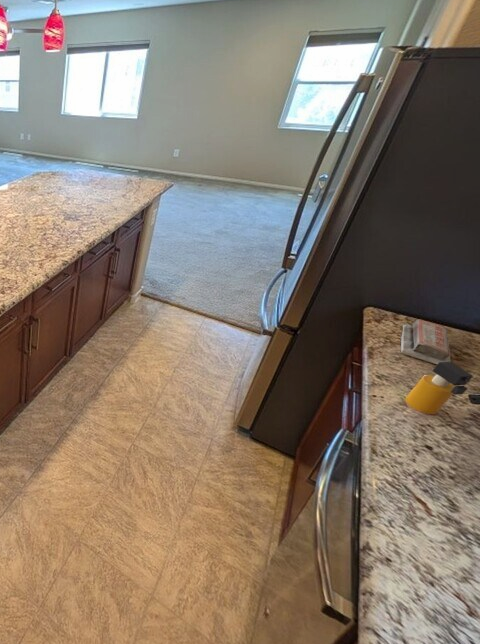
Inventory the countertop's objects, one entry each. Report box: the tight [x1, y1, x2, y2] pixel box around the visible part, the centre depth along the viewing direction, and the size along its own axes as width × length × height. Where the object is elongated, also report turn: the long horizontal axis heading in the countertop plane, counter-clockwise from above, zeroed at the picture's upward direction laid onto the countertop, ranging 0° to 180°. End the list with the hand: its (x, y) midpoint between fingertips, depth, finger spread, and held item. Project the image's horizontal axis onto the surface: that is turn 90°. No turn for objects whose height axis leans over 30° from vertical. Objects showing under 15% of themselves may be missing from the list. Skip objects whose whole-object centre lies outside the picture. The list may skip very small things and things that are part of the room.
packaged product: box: [400, 319, 452, 365], centre depth 115 cm, size 18×5×10 cm
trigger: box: [451, 385, 468, 395], centre depth 91 cm, size 1×2×2 cm, turn 92°
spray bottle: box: [405, 361, 474, 415], centre depth 94 cm, size 6×6×14 cm
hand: (472, 398), depth 88 cm, fingers closed
